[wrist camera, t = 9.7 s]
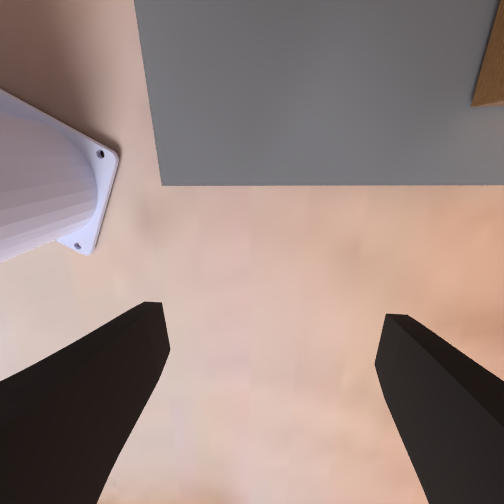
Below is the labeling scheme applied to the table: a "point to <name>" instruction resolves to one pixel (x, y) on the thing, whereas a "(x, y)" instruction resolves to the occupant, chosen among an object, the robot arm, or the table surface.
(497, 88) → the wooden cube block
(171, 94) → the mat
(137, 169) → the table surface
